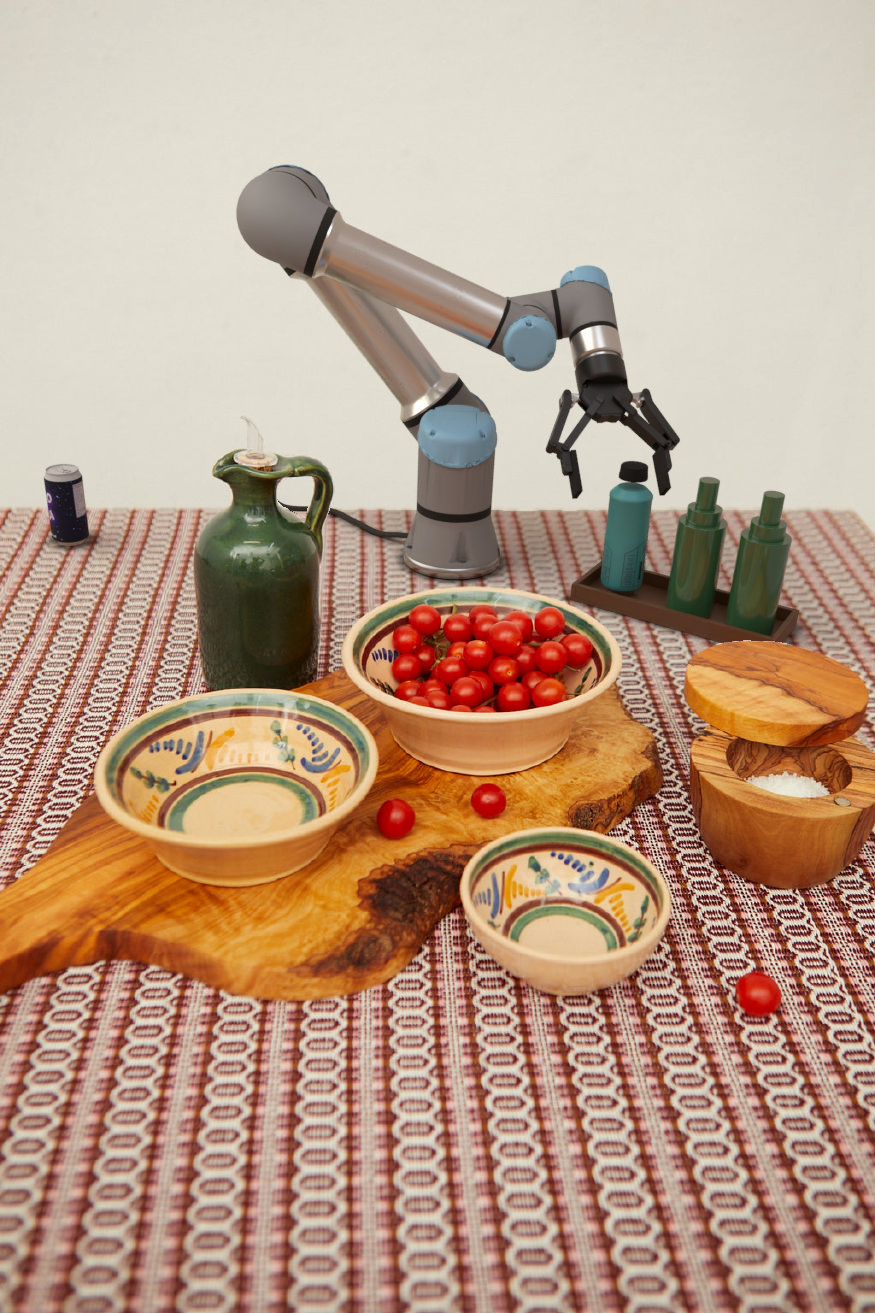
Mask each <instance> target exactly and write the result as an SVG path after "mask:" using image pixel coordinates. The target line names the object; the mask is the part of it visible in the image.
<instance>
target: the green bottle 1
mask: <svg viewBox="0 0 875 1313" xmlns="http://www.w3.org/2000/svg"><path fill="white" fill-rule="evenodd" d="M720 485H721V480H720V479H718V478H716V477H713V476H702V477H699V480H698V484H697V493H696V498H695V501H692V502H690V503H688V504H687V507H686V513H685V512H684V513H683V514H681V515H680V516H678V518H677V526H676V531H675V539H674V545H673V553H672V558H671V565H670V572H669V576H670V577H669V584H668V590H667V597H666V603H665V607H666V608H669V609H673V610H676V611H680V612H684V613H687V614H691V615H695V616H698V617H702V618H705V619H708V618H710V617H711V615H712V612H713V606H714V600H715V595H716V589H718V583H719V576H720V572H721V565H722V560H723V555H724V549H725V545H726V544H725V543H726V536H727V531H728V525H729V523H728V521H727V520H726V519H725V518H724V517H723V513H724V509H723V507H722V506H721V505H719V504H717V503H718V497H719V491H720V487H721V486H720Z"/></svg>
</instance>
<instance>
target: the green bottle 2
mask: <svg viewBox="0 0 875 1313" xmlns="http://www.w3.org/2000/svg"><path fill="white" fill-rule="evenodd" d="M761 500H762V501H761V504H760V510H759V515H756V516H753V517H751V518H750V523H749V526H748V527H746V528H743V529H742V530H741V531H740V536H739V541H738V546H737V552H736V556H735V562H734V567H733V574H732V578H731V584H730V589H729V592H730V594H729V600H728V605H727V611H726V616H725V622H724V624H727V625H731V626H734V627H738V628H742V629H745V630H749V631H752V632H756V633H760V634H763V635H767V636H770V635H771V634H772V633H773V630H774V625H775V620H776V615H777V610H778V605H780V600H781V595H782V590H783V585H784V580H785V576H786V572H787V567H788V561H789V557H790V552H791V547H792V542H793V538H792V536H791V535H790V534H789V533H788V532H787V530H788V523H787V522H786V521H785V520H784V519H782V515H783V509H784V505H785V500H786V494H785V493H784V492H782V491H777V490H766V491H764V492H763V496H762V499H761Z"/></svg>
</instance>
